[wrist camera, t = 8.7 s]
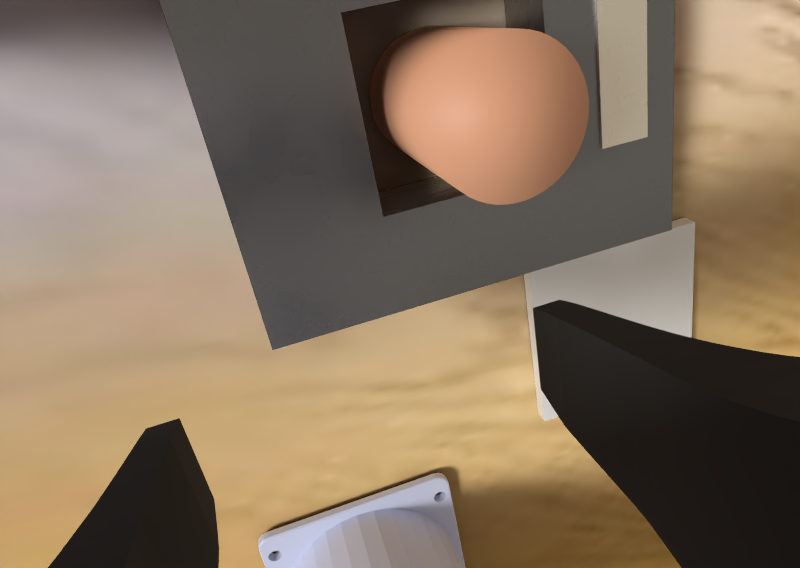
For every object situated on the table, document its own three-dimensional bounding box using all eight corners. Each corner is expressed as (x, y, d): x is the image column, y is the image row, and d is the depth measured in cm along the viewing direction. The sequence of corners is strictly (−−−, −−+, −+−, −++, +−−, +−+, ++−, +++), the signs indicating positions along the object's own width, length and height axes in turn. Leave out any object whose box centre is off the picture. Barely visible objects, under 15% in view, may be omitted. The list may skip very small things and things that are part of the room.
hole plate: (628, 210, 23) (673, 230, 21) (266, 315, 21) (273, 351, 19) (620, -171, 18) (680, -199, 16) (137, -88, 16) (124, -106, 13)
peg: (499, 134, 21) (597, 174, 15) (389, 172, 20) (452, 227, 15) (475, 9, 19) (578, 5, 14) (354, 47, 18) (412, 58, 13)
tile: (681, 363, 27) (690, 370, 27) (538, 413, 26) (544, 421, 25) (684, 217, 24) (695, 222, 24) (522, 265, 23) (530, 271, 22)
